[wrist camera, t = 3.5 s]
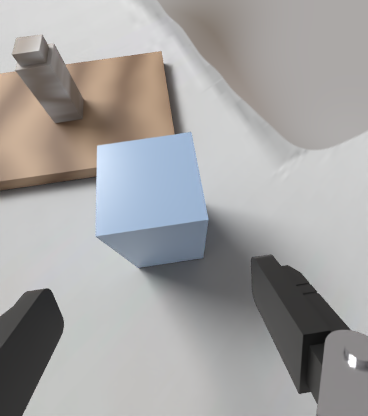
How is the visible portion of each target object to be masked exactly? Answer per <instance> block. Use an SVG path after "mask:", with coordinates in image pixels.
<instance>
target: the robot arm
mask: <svg viewBox="0 0 368 416" xmlns="http://www.w3.org/2000/svg"><path fill="white" fill-rule="evenodd" d="M251 274H252V292H253V297H254V301H255V303H256V306H257V308H258V310H259V312H260V314H261V316H262V318H263V320H264V322H265V324H266V327H267V329H268V331H269V333H270V335H271V337H272V339H273V341H274V343H275V345H276V347H277V349H278V351H279V353H280V356H281V358H282V360H283V362H284V364H285V366H286V368H287V370H288V372H289V374H290V376H291V378H292V380H293V383H294V385H295V387H296V389H297V391H298V393H299V394H301V393H307V392H311V393H312V395H313V397H314V399H315V401H316V402H317V404H318V405H317V414H316V416H368V336H366V335H364V334H362V333H359V332H355V331H351V330H350V329H349V327H348V326H347V325H346V324H345V323H344V322H343V321H342V319H341V318H340V317H339V316H338V315H337V314H336V313H335V311H334V310H333V309H332V308H331V307H330V306H329V305H328V303H327V302H326V301H325V300H324V299H323V298H322V297H321V295H320V294H319V293H317V291H316V290H315V289H314V288H313V286H312V285H310V284H309V282H308V281H307V280H306V278H305V277H304V276H303V275H302V274H301V273H300V272H298V271H297V270H295V269H293V268H292V267H290V266H288V265H287V266H281V265H280V264H279V263H278V262H277V260H276V259H275V258H274V257H273V255H264V256H258V257H252V259H251ZM63 328H64V320H63V317H62V314H61V312H60V310H59V307H58V305H57V302H56V300H55V298H54V295H53V293H52V291H51V290H50V289H40V290H34V291H27V292H25V293H24V294H23V295H22V296H21V298H20V299H19V300H18V301H17V302H16V304H15V305H14V306H13V307H12V308H10V309H9V310H8V311H7V312H5V313H4V314H3V315H2V316H0V416H22V415H23V413H24V411H25V409H26V407H27V405H28V403H29V401H30V399H31V397H32V395H33V393H34V390H35V388H36V386H37V384H38V382H39V380H40V378H41V376H42V374H43V372H44V370H45V368H46V366H47V364H48V362H49V360H50V358H51V356H52V354H53V352H54V350H55V348H56V346H57V344H58V342H59V339H60V337H61V335H62V333H63Z"/></svg>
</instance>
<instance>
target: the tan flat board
mask: <svg viewBox="0 0 368 416" xmlns="http://www.w3.org/2000/svg"><path fill="white" fill-rule="evenodd" d="M12 55H13V57H14V58H15V59H16V61H17V64H16V68H15V71H16V72H9V73H1V74H0V190H7V189H14V188H21V187H28V186H35V185H42V184H48V183H55V182H62V181H69V180H76V179H83V178H90V177H97V146H98V145H105V144H112V143H119V142H125V141H132V140H139V139H146V138H153V137H160V136H167V135H174V127H173V121H172V115H171V108H170V102H169V96H168V89H167V83H166V77H165V70H164V64H163V58H162V51H160V52H153V53H145V54H138V55H131V56H124V57H117V58H109V59H102V60H95V61H88V62H81V63H73V64H66V65H65V63H64V61H63V59H62V57H61V56H60V54H59V52H58V50H57V48H56V46H55V44H54V43H52V44H47V42H46V40H45V39H44V37H43V35H42V34H41V35H34V36H27V37H19V38H16V40H15V44H14V48H13V52H12Z"/></svg>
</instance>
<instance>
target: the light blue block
mask: <svg viewBox="0 0 368 416" xmlns="http://www.w3.org/2000/svg"><path fill="white" fill-rule="evenodd" d="M207 227H208V214H207V209H206V204H205V199H204V194H203V189H202V184H201V179H200V174H199V169H198V164H197V159H196V154H195V148H194V143H193V138H192V133H191V132H188V133H181V134H174V135H167V136H160V137H153V138H146V139H139V140H132V141H125V142H119V143H112V144H105V145H98V146H97V180H96V237H97V238H98V239H100V240H101V241H103V242H104V243H105V244H107V245H108V246H109V247H111V248H112V249H113V250H115V251H116V252H117V253H119V254H120V255H121V256H123V257H124V258H126V259H127V260H128V261H130V262H131V263H132V264H134V265H135V266H136V267H138V268H141V267H148V266H154V265H161V264H167V263H174V262H181V261H187V260H194V259H200V258H203V256H204V249H205V242H206V234H207Z"/></svg>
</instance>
